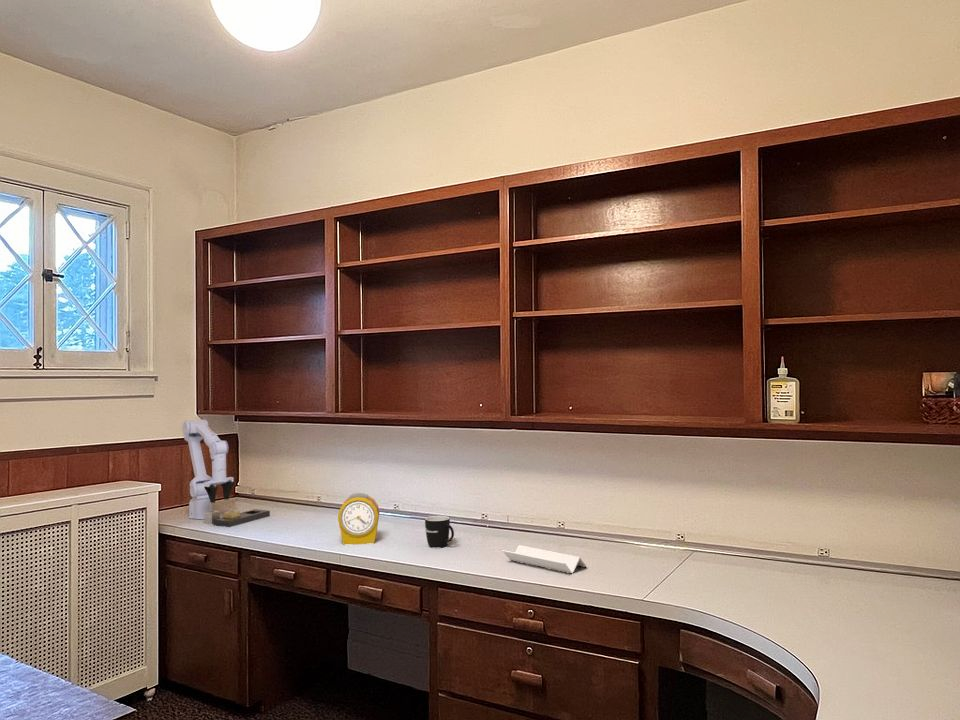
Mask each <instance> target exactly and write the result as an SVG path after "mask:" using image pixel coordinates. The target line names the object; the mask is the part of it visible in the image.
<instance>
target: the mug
mask: <svg viewBox="0 0 960 720" xmlns="http://www.w3.org/2000/svg"><path fill="white" fill-rule="evenodd" d="M424 527H425V536H426V540H427V544H428V546H429V548H432V547H442V548H445V547H446V546H447V545H448V543H450V542H452V541H453V539H454V536H455V531H454V528H453V527H452V525H451V523H450V517H449V516H446V515H431V516H430V515H429V516H427V517H426V518H425V519H424ZM450 535H451V536H450ZM449 537H450V538H449Z"/></svg>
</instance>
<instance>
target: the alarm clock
mask: <svg viewBox="0 0 960 720" xmlns="http://www.w3.org/2000/svg"><path fill="white" fill-rule="evenodd" d="M379 518H380V508H379V505H378V503H377V502H376V500H375V498H374V497H372V496H369V495H368V494H367V493H361V492H356V493H352V494H350V495H349V497H348V498H346V499H345V501H344V502H343V503H342V505H341V507H340V508H339V510H338V516H337V520H338V525H339V530H340V535H341V540H342V544H343V546H346V545H345V544H353V545H367V544H366V543H374V542H376V538H377V537H376V536H377V529H378V526H379ZM374 544H375V543H374Z"/></svg>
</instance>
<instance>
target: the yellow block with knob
mask: <svg viewBox="0 0 960 720" xmlns="http://www.w3.org/2000/svg"><path fill="white" fill-rule="evenodd" d="M240 513H241V511H239V510H229V511H224V512H223V517H224V519H231V520H232V519H236V518H240Z"/></svg>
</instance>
